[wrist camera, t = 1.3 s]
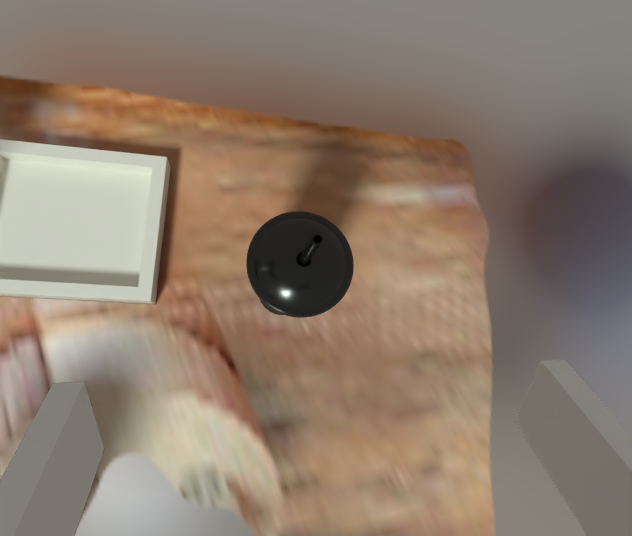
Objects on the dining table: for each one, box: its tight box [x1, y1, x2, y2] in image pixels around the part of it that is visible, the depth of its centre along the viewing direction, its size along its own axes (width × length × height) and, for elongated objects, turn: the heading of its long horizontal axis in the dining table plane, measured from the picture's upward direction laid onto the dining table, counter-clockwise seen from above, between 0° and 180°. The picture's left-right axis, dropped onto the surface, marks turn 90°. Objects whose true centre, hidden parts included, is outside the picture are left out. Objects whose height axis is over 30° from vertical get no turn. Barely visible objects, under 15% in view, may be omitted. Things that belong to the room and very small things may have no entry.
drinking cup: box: [247, 212, 354, 317], centre depth 34 cm, size 8×8×20 cm
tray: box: [0, 139, 171, 304], centre depth 40 cm, size 16×14×2 cm
